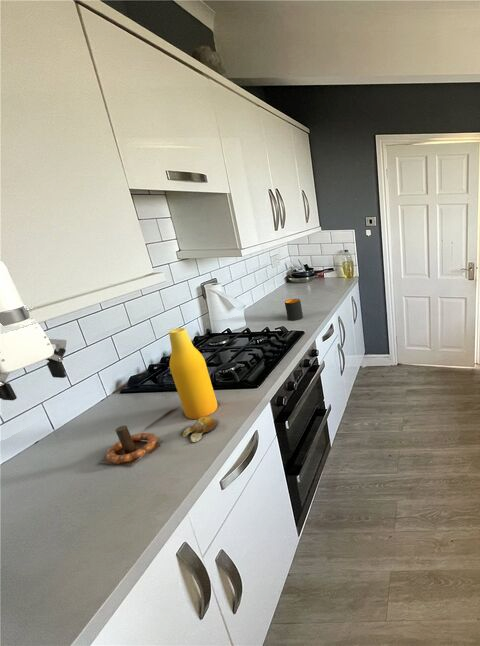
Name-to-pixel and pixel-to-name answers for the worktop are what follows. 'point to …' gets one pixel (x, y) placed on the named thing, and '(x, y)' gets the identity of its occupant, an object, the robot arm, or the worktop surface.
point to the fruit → (200, 428)
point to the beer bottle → (191, 376)
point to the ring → (118, 459)
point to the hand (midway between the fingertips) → (36, 387)
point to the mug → (293, 309)
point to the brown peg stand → (128, 446)
